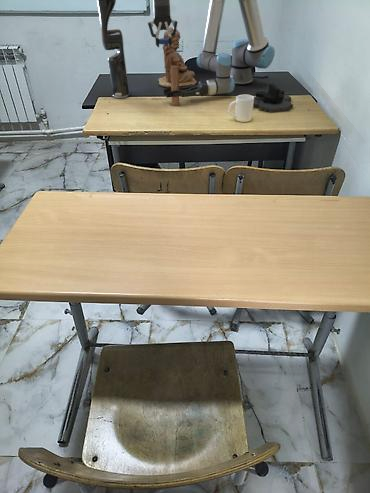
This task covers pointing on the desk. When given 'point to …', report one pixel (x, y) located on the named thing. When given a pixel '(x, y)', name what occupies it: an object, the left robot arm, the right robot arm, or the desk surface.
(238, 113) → the mug
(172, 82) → the brown cylindrical tube
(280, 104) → the abstract sculpture
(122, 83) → the left robot arm
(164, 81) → the sculpture
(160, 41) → the lid
